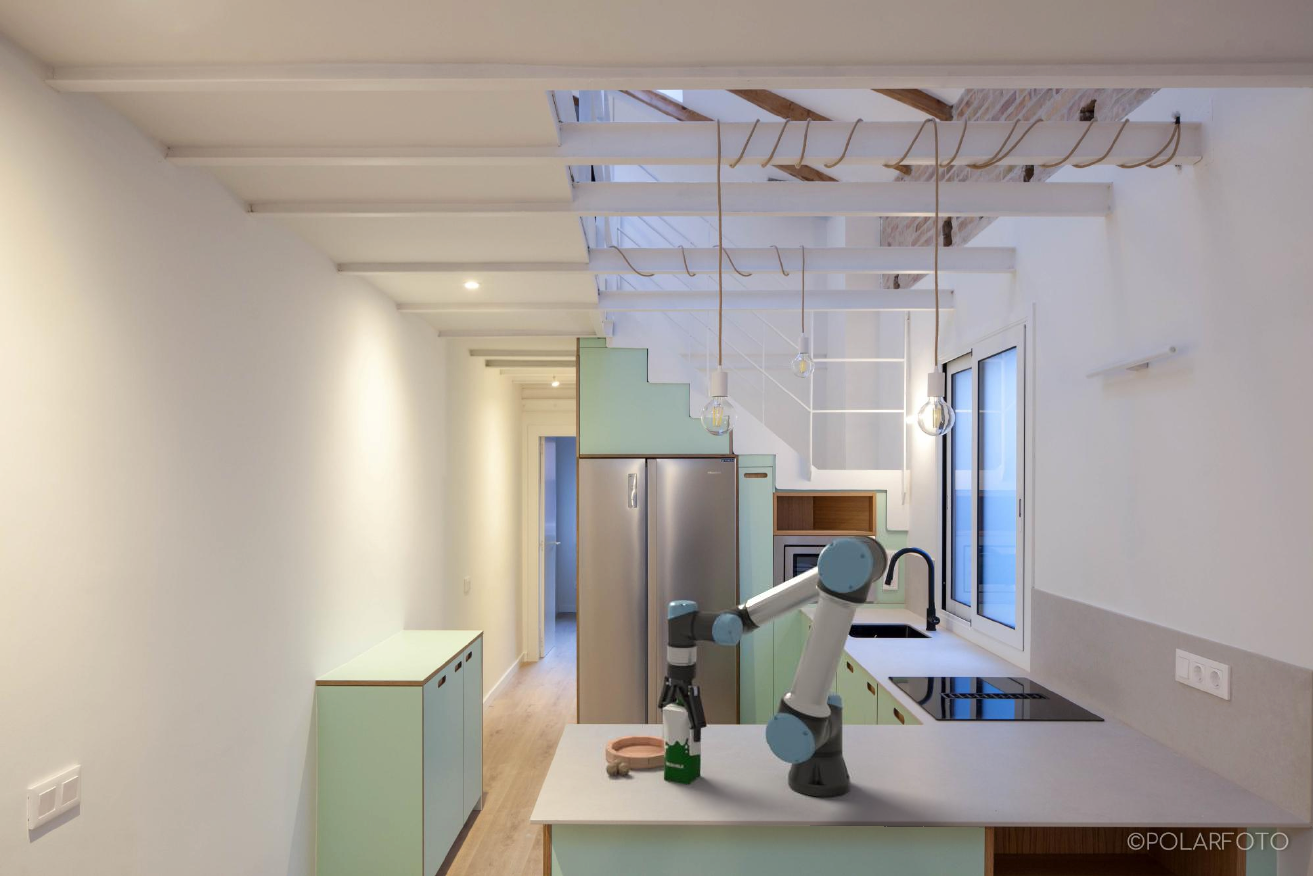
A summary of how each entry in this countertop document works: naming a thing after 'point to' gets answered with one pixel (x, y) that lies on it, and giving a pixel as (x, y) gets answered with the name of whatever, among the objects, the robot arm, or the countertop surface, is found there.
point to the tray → (637, 751)
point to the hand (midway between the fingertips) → (680, 746)
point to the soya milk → (679, 746)
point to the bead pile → (617, 768)
